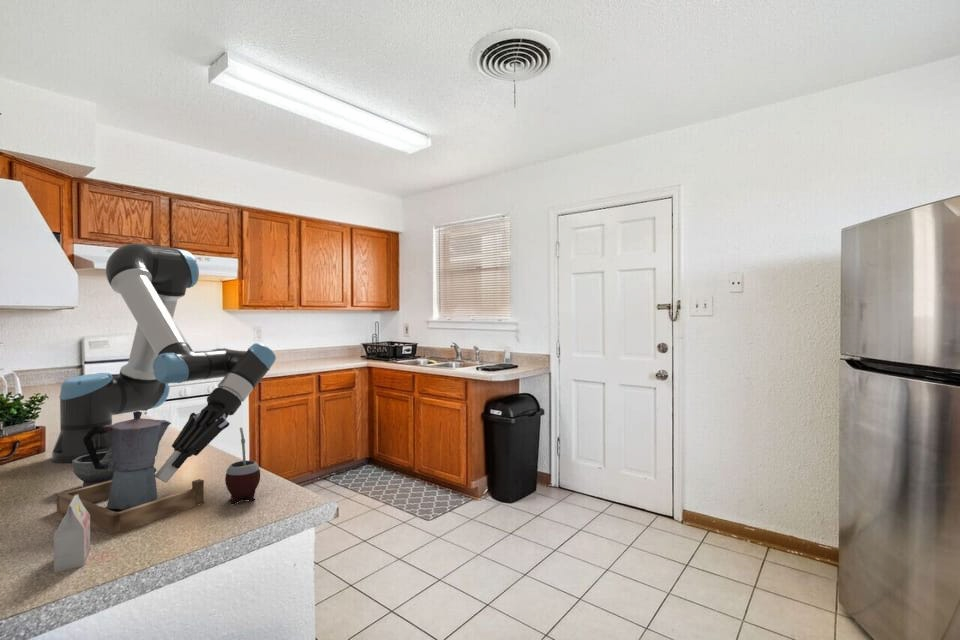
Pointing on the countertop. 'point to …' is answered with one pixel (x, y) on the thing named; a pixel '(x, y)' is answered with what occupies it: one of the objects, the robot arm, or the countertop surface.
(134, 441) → the moka pot
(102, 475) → the mortar and pestle
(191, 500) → the bay
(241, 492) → the mate gourd
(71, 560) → the white paper packet
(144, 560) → the countertop surface
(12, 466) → the countertop surface
